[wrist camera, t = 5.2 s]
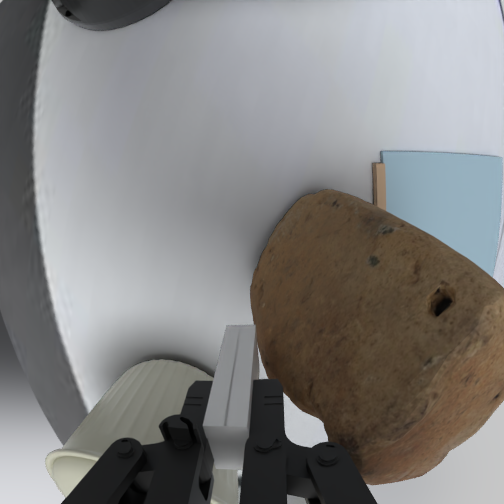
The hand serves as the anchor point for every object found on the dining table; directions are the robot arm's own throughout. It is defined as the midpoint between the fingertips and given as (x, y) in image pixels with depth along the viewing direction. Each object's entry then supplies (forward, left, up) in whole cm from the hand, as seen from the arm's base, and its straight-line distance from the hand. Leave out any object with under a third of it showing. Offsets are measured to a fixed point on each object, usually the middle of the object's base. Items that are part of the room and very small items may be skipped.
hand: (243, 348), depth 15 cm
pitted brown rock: (-1, +4, -13) cm, 13 cm away
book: (-1, +18, -13) cm, 23 cm away
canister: (+16, -11, -13) cm, 23 cm away
